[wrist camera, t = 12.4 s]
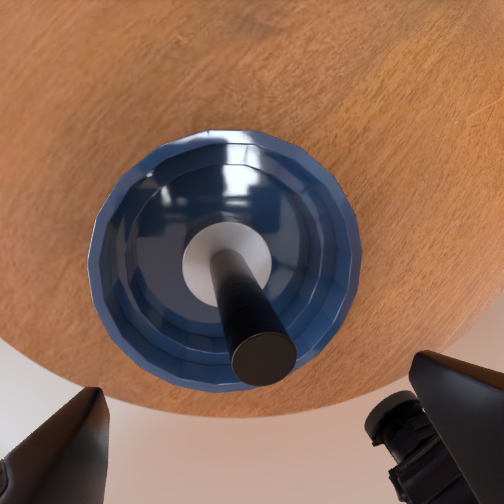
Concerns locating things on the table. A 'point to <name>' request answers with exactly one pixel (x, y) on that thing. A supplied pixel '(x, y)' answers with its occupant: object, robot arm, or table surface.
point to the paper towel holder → (239, 297)
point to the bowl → (195, 212)
